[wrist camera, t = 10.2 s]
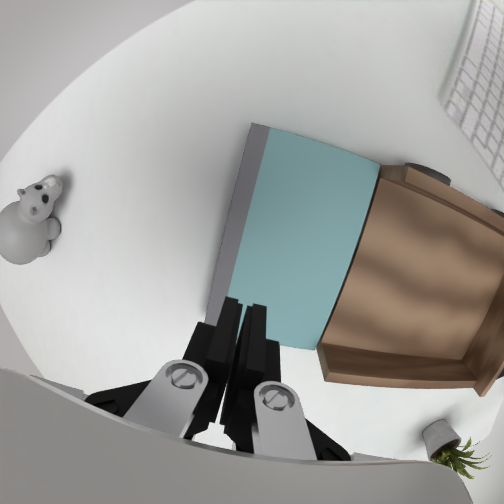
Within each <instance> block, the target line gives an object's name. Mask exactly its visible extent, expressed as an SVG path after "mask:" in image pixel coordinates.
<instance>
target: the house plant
mask: <svg viewBox="0 0 504 504" xmlns="http://www.w3.org/2000/svg"><path fill="white" fill-rule="evenodd" d="M423 437H424V441H425V445H426V450H427V455H428V459H429V461H432V462H433V463H438V464H442V465H444V466H447V467H449V468H451V469H452V467H453V470H454V471H455V472H456V473H457V471H458V472H459V473H460V474H461V475H463V476H466V477H468V478H469V479H474V478H472V477H473V476H471V475H469V474H468V473H467V471H466V470H465V469H464V468H465V467H466V466H465V465H463V464H462V463H464V464H467V465H468V466H470V467H473V468H475V469H485V468H487V467H485V468H480V467H477V466H475V465H472V464H478V463H481V462H470V461H466V460H463V459H461V458H459V457H463V458H471V459H481V458H472V457H470V456H471V455H472V454H473V452H474V451H471V452H469V451H468V452H462V451H464V450H466V449H467V448H468V447H470V445H471V437H470V440H469V441H468V443H467V444H466V446H459V444H460V443H461V438H460V437H459V436H458V435H457V433H456V432H455V431H454V430H453V429H452V428H451V427H450V425H449V424H448V423H447V422H446V421H445V420H443V419H442V420H438V421H436V422H434V423H432V424H431V425H430V426H428V427H427V428H426V429H425V431H424V432H423ZM477 444H478V443H477ZM475 445H476V444H475ZM473 446H474V445H473ZM457 447H465V448H464V449H463V450H462V451H459V450H457V449H456V448H457ZM437 460H438V461H437ZM486 460H487V459H486ZM450 462H451V463H450ZM461 462H462V463H461ZM451 464H452V467H451ZM457 474H458V473H457Z"/></svg>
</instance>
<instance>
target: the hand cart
mask: <svg viewBox="0 0 504 504" xmlns="http://www.w3.org/2000/svg"><path fill="white" fill-rule="evenodd" d="M450 182H451V180H450V179H449V178H448V177H447V176H445V175H443V174H442V173H440V172H437V171H435V170H433V169H430V168H428V167H425V166H422V165H418V164H414V163H405V166H387V165H380V169H379V172H378V176H377V180H376V183H375V187H374V190H373V194H372V197H371V201H370V204H369V207H368V211H367V214H366V217H365V220H364V223H363V226H362V230H361V233H360V236H359V239H358V242H357V245H356V247H355V250H354V253H353V256H352V259H351V262H350V264H349V267H348V270H347V273H346V275H345V278H344V281H343V283H342V286H341V288H340V291H339V294H338V296H337V299H336V301H335V304H334V306H333V309H332V311H331V313H330V316H329V318H328V321H327V323H326V325H325V328H324V330H323V332H322V335H321V337H320V339H319V341H318V344H317V346H316V349H317V353H318V357H319V361H320V365H321V369H322V373H323V377H324V381H326V382H334V383H342V384H352V385H362V386H375V387H390V388H414V389H454V388H474V390H475V391H476V392H477V394H478V395H479V397H483V396H485V395H486V393H487V392H488V391H489V389H490V388H491V386H492V385H493V383H494V382H495V380H496V379H497V377H498V376H499V374H500V373H501V371H502V370H503V368H504V213H503V212H500V211H498V210H494V209H488V208H487V207H485V206H483V205H482V204H480V203H478V202H477V201H475V200H473V199H471V198H470V197H468V196H466V195H464V194H462V193H461V192H459V191H457V190H455V189H453V188H451V187H450Z"/></svg>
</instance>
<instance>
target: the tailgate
mask: <svg viewBox="0 0 504 504" xmlns="http://www.w3.org/2000/svg"><path fill="white" fill-rule="evenodd" d="M380 165H381V164H379V163H376V162H374V161H371V160H369V159H366V158H364V157H361V156H358V155H356V154H353V153H350V152H348V151H345V150H342V149H339V148H336V147H333V146H331V145H328V144H325V143H322V142H318V141H315V140H312V139H309V138H306V137H303V136H299V135H296V134H293V133H289V132H286V131H282V130H278V129H275V128H271V127H267V126H263V125H259V124H255V123H252V124H251V127H250V131H249V135H248V139H247V142H246V146H245V150H244V154H243V158H242V162H241V166H240V169H239V173H238V177H237V181H236V185H235V189H234V193H233V198H232V202H231V206H230V210H229V214H228V218H227V222H226V227H225V231H224V235H223V239H222V244H221V248H220V253H219V257H218V261H217V266H216V270H215V275H214V279H213V284H212V289H211V293H210V298H209V303H208V307H207V312H206V317H205V322H204V323H206V324H210V325H213V326H216V325H217V321H218V318H219V315H220V312H221V309H222V306H223V303H224V299H225V296H228V297H231V298H235V299H239V301H238V303H241V304H243V308H242V314H241V319H240V324H239V330H238V335H237V338H238V336H239V332H240V329H241V325H242V322H243V318H244V315H245V311H246V308H247V305H249V306H252V305H253V303H255V304H259V305H263V306H267V320H266V339H271V340H275V341H279V344H280V345H281V346H288V347H294V348H301V349H308V350H315V348H316V346H317V344H318V341H319V339H320V337H321V335H322V332H323V330H324V328H325V325H326V323H327V321H328V318H329V316H330V313H331V311H332V309H333V306H334V304H335V301H336V299H337V296H338V294H339V291H340V288H341V286H342V283H343V281H344V278H345V275H346V273H347V270H348V267H349V264H350V262H351V259H352V256H353V253H354V250H355V247H356V245H357V242H358V239H359V236H360V233H361V230H362V226H363V223H364V220H365V217H366V214H367V211H368V207H369V204H370V201H371V197H372V194H373V190H374V187H375V183H376V180H377V176H378V172H379V169H380Z"/></svg>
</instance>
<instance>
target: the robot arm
mask: <svg viewBox="0 0 504 504" xmlns="http://www.w3.org/2000/svg"><path fill="white" fill-rule="evenodd" d="M238 301H239V299H235V298H231V297H228V296H225V299H224V303H223V306H222V309H221V312H220V315H219V318H218V321H217V325H216V326H213V325H210V324H206V323H202V322H198V323H197V326H196V328H195V330H194V333H193V335H192V337H191V340H190V342H189V344H188V347H187V349H186V351H185V354H184V356H183V359H182V360H172V361H170V362H167V363H166V364H165V365H164V366H162V368H161V369H160V370H159V372H158V373H157V374H156V376H155V377H154V378H153V379H152V380H149V381H145V382H140V383H136V384H132V385H128V386H123V387H119V388H114V389H109V390H105V391H100V392H96V393H93V394H91V395H86V394H84V391H83V390H79V389H76V388H72V387H69V386H65V385H62V384H59V383H55V382H52V381H49V380H46V379H43V378H40V377H37V376H33V375H27V374H24V373H21V372H19V371H16V370H12V369H8V368H4V367H0V504H473V502H472V499H471V497H470V495H469V492H468V490H467V488H466V486H465V484H464V483H463V481H462V479H461V478H460V476H459V475H458V474H457V473H456V472H455V471H454V470H453V469H451V468H449V467H447V466H444V465H442V464H438V463H433V462H428V461H418V460H398V459H390V458H383V457H377V456H371V455H365V454H360V453H355V452H354V453H353V454H352V455H350V454H348V452H347V451H346V450H345V449H344V448H343V447H342V446H340V445H339V444H338V443H336V442H335V441H334V440H332V439H331V438H330V437H328V436H327V435H326V434H325V433H323V432H322V431H321V430H320V429H318V428H317V427H316V426H315V425H313V424H312V423H311V422H310V421H308V420H307V419H306V418H305V416H304V413H303V410H302V406H301V403H300V399H299V397H298V395H297V393H296V392H295V391H294V390H293V389H292V388H290V387H289V386H287V385H285V384H283V383H281V370H280V344H279V341H275V340H271V339H266V320H267V306H263V305H259V304H255V303H253V305H252V306H249V305H247V308H246V311H245V315H244V318H243V322H242V325H241V329H240V332H239V336H238V339H237V335H238V330H239V324H240V319H241V314H242V308H243V304H241V303H238ZM236 341H237V343H236ZM226 384H227V386H226ZM225 387H226V391H225ZM224 391H225V397H224V402H223V407H222V413H221V418H220V424H221V425H225V427H224V434H227V435H228V436H229V437H230V439H231V440H232V441H233V444H232V450H229V449H225V448H220V447H215V446H211V445H207V444H202V443H198V442H194V438H195V434H197V433H200V432H202V431H205V430H207V429H208V425H209V422H212V423H215V421H216V417H217V414H218V411H219V407H220V404H221V401H222V397H223V394H224Z"/></svg>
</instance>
